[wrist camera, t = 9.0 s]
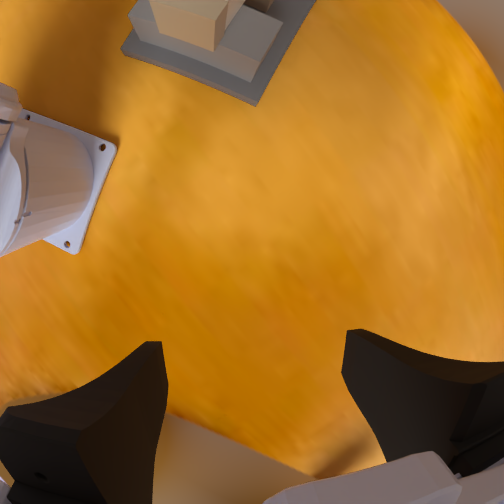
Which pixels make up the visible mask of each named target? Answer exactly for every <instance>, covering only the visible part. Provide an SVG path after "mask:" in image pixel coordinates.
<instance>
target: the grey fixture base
mask: <svg viewBox="0 0 504 504" xmlns="http://www.w3.org/2000/svg"><path fill="white" fill-rule="evenodd" d="M315 1H316V0H246V1H245V2H244V3H243V5H242V6H241V8H240V9H239V10H238V12H237V13H236V15H235V16H234V18H233V19H232V21H231V22H230V24H229V25H228V27H227V28H226V30H225V33H224V36H223V38H222V39H221V41H220V43H219V44H218V46H217V47H216V49H215V51H214V52H212V51H210V50H207V49H204V48H202V47H199V46H196V45H194V44H191V43H188V42H185V41H183V40H180V39H177V38H174V37H171V36H168V35H165V34H162V33H159V30H158V27H157V24H156V21H155V17H154V14H153V11H152V8H151V5H150V2H149V0H138V1H137V3H136V4H135V5H134V7H133V8H132V9H131V11H130V12H129V14H128V17H129V19H130V21H131V23H132V25H133V27H134V28H133V30H132V31H131V33H130V34H129V36H128V37H127V39H126V41H125V42H124V44H123V45H122V47H121V48H120V49H121V51H122V52H123V54H124V55H126V56H129V57H132V58H135V59H138V60H141V61H144V62H147V63H150V64H153V65H156V66H159V67H162V68H165V69H167V70H170V71H173V72H175V73H178V74H181V75H183V76H186V77H188V78H191V79H193V80H196V81H198V82H201V83H203V84H206V85H208V86H211V87H213V88H215V89H218V90H220V91H222V92H225V93H227V94H229V95H231V96H234V97H236V98H238V99H240V100H242V101H244V102H247V103H249V104H251V105H253V106H255V107H256V105H257V103H258V102H259V100H260V98H261V96H262V94H263V92H264V90H265V89H266V87H267V85H268V83H269V81H270V79H271V77H272V76H273V74H274V72H275V70H276V68H277V67H278V65H279V63H280V61H281V59H282V58H283V56H284V54H285V52H286V50H287V49H288V47H289V45H290V43H291V42H292V40H293V38H294V36H295V35H296V33H297V31H298V30H299V28H300V26H301V24H302V23H303V21H304V19H305V18H306V16H307V14H308V13H309V11H310V9H311V8H312V6H313V4H314V3H315Z"/></svg>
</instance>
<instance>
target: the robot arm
mask: <svg viewBox="0 0 504 504" xmlns="http://www.w3.org/2000/svg"><path fill="white" fill-rule="evenodd" d="M18 101H19V98H18V94H17V90H16V89H14V88H12V87H10V86H7V85H5V84H3V83H0V257H2V256H4V255H6V254H8V253H10V252H13V251H15V250H17V249H19V248H22V247H24V246H26V245H29V244H31V243H33V242H36V241H38V240H41V239H43V240H45V241H47V242H49V243H51V244H53V245H55V246H57V247H59V248H61V249H63V250H65V251H67V252H69V253H71V254H77V253H78V252H79V251H80V250H81V247H82V243H83V240H84V237H85V234H86V231H87V228H88V225H89V222H90V219H91V216H92V213H93V210H94V208H95V205H96V202H97V199H98V197H99V194H100V191H101V189H102V186H103V184H104V181H105V179H106V176H107V174H108V171H109V169H110V167H111V164H112V162H113V159H114V157H115V155H116V152H117V147H116V145H115V144H114V143H111V142H109V141H106V140H104V139H102V138H99V137H97V136H94V135H92V134H89V133H86V132H84V131H81V130H79V129H76V128H74V127H71V126H69V125H66V124H63V123H61V122H58V121H55V120H53V119H50V118H47V117H45V116H42V115H39V114H37V113H34V112H31V111H28V110H26V109H23V108H22V105H21V104H20V103H19V102H18ZM29 116H30V119H29V120H27V119H28V117H29ZM103 144H105V145H106V149H105V150H104V151H101V146H102V145H103ZM67 241H69V242H70V247H68V246H67V244H66V242H67ZM341 373H342V376H343V378H344V381H345V383H346V386H347V388H348V390H349V392H350V394H351V396H352V397H353V399H354V401H355V402H356V404H357V406H358V407H359V409H360V410H361V412H362V414H363V415H364V417H365V418H366V420H367V422H368V423H369V425H370V427H371V428H372V430H373V432H374V434H375V435H376V438H377V440H378V442H379V444H380V447H381V449H382V451H383V454H384V456H385V459H386V461H387V463H384V464H381V465H378V466H374V467H371V468H367V469H363V470H360V471H356V472H352V473H348V474H343V475H339V476H334V477H330V478H325V479H320V480H315V481H310V482H306V483H303V484H300V485H296V486H293V487H289V488H286V489H284V490H282V491H281V492H279V493H277V494H275V495H274V496H272V497H270V498H268V499H267V500H266V501H264V502H263V504H504V362H470V361H461V360H454V359H448V358H443V357H439V356H435V355H430V354H427V353H423V352H420V351H417V350H415V349H412V348H409V347H406V346H404V345H401V344H399V343H396V342H394V341H391V340H389V339H387V338H384V337H382V336H380V335H377V334H375V333H372V332H370V331H367V330H364V329H354V330H347V335H346V343H345V350H344V358H343V365H342V371H341ZM167 396H168V379H167V374H166V368H165V361H164V355H163V348H162V341H146V342H144V343H143V344H142V345H140V346H139V347H138V348H137V349H136V350H134V351H133V352H132V353H131V354H130V355H128V356H127V357H126V358H125V359H123V360H122V361H121V362H120V363H118V364H117V365H115V366H114V367H113V368H111V369H110V370H108V371H107V372H106V373H104V374H103V375H101V376H100V377H98V378H96V379H95V380H93V381H91V382H89V383H87V384H85V385H84V386H81V387H79V388H77V389H75V390H72V391H70V392H67V393H65V394H63V395H60V396H57V397H54V398H51V399H47V400H44V401H40V402H36V403H30V404H24V405H18V406H11V407H8V408H7V409H6V410H5V412H4V413H3V414H2V416H1V417H0V460H1V462H2V463H3V465H4V466H5V468H6V469H7V470H8V472H9V473H10V475H11V476H12V477H13V479H14V480H15V481H14V483H13V485H12V487H10V486H9V485H7V484H6V483H5V482H3V481H1V480H0V504H152V493H153V474H154V462H155V454H156V448H157V444H158V440H159V435H160V431H161V427H162V423H163V419H164V414H165V410H166V406H167Z"/></svg>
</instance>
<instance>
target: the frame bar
mask: <svg viewBox="0 0 504 504" xmlns="http://www.w3.org/2000/svg"><path fill="white" fill-rule="evenodd" d="M245 1H246V0H149V2H150V5H151V8H152V11H153V14H154V17H155V21H156V24H157V27H158V30H159V33H162V34H165V35H168V36H171V37H174V38H177V39H180V40H183V41H185V42H188V43H191V44H194V45H196V46H199V47H202V48H204V49H207V50H210V51H212V52H214V51H215V49H216V47H217V46H218V44H219V43H220V41H221V39H222V38H223V36H224V33H225V30H226V28H227V27H228V25H229V24H230V22H231V21H232V19H233V18H234V16H235V15H236V13H237V12H238V10H239V9H240V8H241V6H242V5H243V3H244V2H245Z"/></svg>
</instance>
